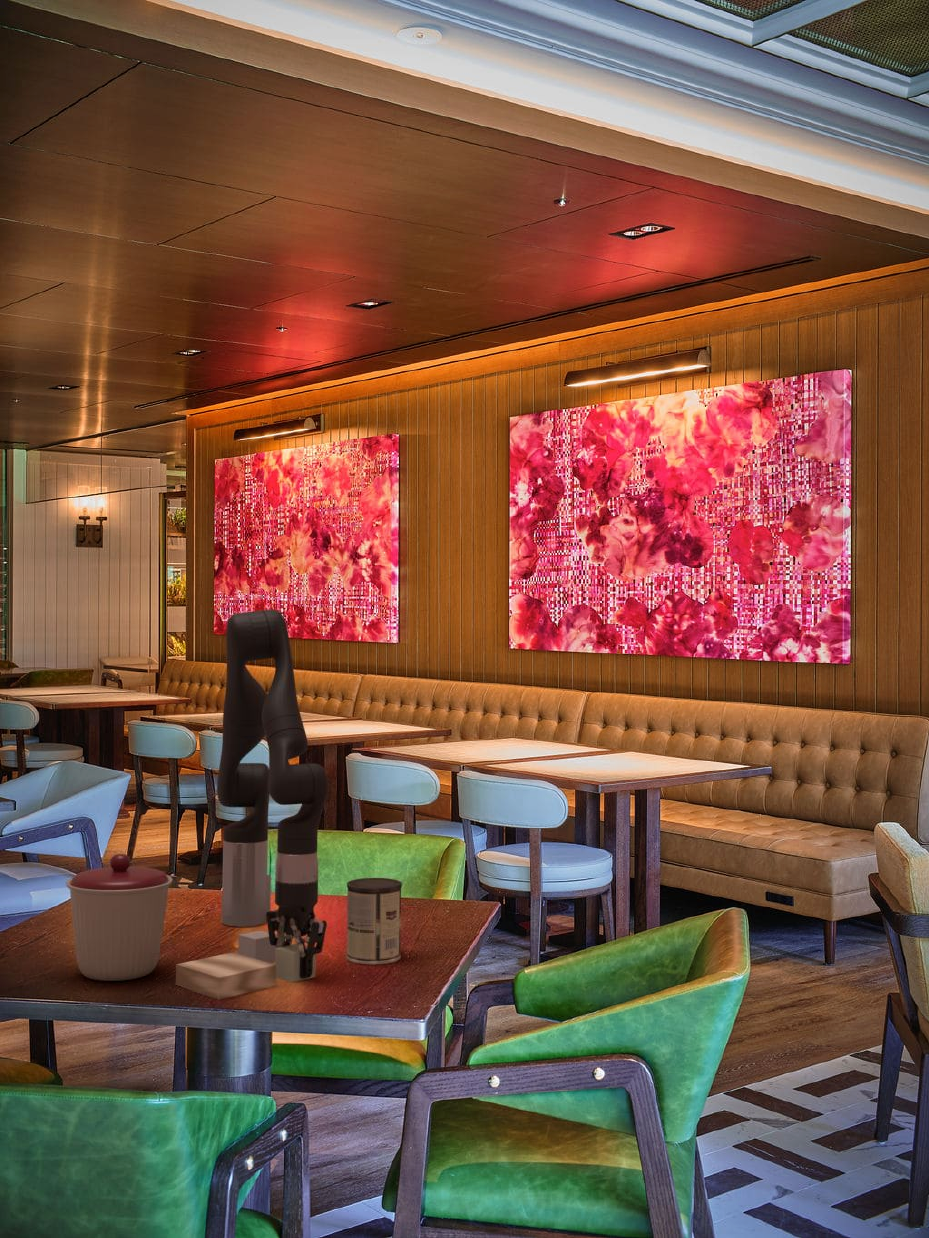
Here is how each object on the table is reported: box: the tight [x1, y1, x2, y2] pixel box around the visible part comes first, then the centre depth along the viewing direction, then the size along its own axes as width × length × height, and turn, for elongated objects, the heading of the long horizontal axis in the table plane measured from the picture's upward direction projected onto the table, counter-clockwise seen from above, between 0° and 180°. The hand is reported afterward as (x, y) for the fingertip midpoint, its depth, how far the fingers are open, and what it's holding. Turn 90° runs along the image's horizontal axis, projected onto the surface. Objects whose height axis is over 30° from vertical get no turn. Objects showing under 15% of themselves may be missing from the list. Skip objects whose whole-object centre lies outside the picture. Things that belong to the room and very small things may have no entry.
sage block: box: [274, 943, 317, 983], centre depth 221 cm, size 5×5×5 cm
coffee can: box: [346, 877, 403, 966], centre depth 235 cm, size 10×10×14 cm
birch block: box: [175, 952, 277, 1001], centre depth 215 cm, size 12×12×4 cm
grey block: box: [237, 930, 277, 964], centre depth 231 cm, size 5×5×5 cm
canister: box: [65, 853, 173, 982], centre depth 221 cm, size 18×18×21 cm
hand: (294, 973), depth 221 cm, fingers closed on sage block, 5 cm apart
